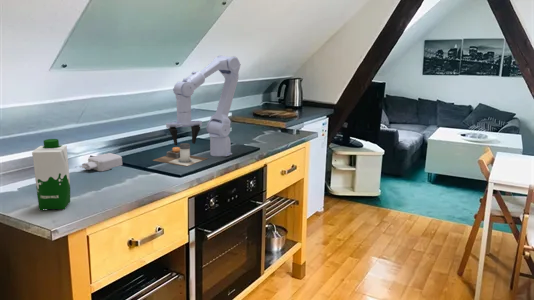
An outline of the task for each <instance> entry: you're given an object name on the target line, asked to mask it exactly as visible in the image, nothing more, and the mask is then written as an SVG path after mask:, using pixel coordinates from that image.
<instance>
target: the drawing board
mask: <svg viewBox="0 0 534 300" xmlns="http://www.w3.org/2000/svg"><path fill="white" fill-rule="evenodd" d="M208 159H209V158H208V157H202V156H197V155H191V154H190V161H189V162H181V161H180V152H179V153H174V152H173V149H171V150H169V151H166V155H164V156H161V157H158V158H155V159H152V161H153V162H159V163H165V164H170V165H171V164H172V165H175V166H182V167H190V166H192V165H195V164H198V163H200V162H203V161H206V160H208Z"/></svg>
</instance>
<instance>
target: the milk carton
mask: <svg viewBox="0 0 534 300" xmlns="http://www.w3.org/2000/svg"><path fill="white" fill-rule="evenodd" d="M59 142H60V141H59V139H57V138H48V139H47V138H46V139H44V140H43V145H40V146H38V147H36V148H34V150H33V151H31V154H32V162H33V170H34V177H35V188H36V195H37V203H38V210H39V209H40V210H42V211H44V210H43V209H64V210H66V208H67V207H68V205H69V204H70V202H71V181H70V169H69V168H70V167H69V157H68V148H67V147H68V146H67V145H60V143H59ZM68 203H69V204H68ZM66 206H67V207H66ZM65 207H66V208H65Z"/></svg>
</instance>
